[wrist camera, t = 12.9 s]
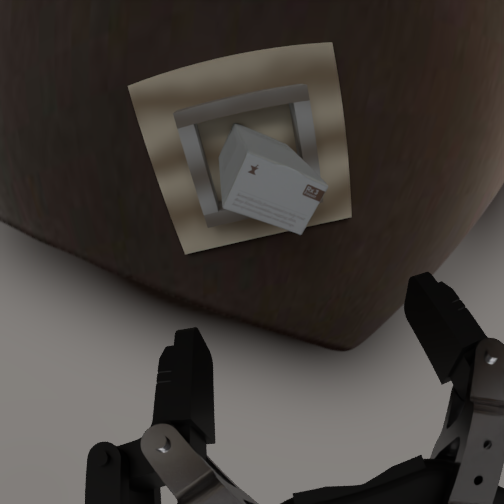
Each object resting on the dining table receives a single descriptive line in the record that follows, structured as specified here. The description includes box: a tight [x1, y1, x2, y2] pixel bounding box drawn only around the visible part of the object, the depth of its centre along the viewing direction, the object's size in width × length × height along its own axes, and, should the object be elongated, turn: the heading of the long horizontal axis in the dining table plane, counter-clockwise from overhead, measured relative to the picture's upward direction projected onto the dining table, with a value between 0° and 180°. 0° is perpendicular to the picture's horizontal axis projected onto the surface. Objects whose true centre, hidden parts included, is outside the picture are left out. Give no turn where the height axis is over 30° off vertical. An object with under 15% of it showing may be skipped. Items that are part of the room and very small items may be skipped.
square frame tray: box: [128, 42, 352, 254], centre depth 28 cm, size 20×20×4 cm
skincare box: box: [219, 123, 328, 235], centre depth 24 cm, size 6×4×12 cm
